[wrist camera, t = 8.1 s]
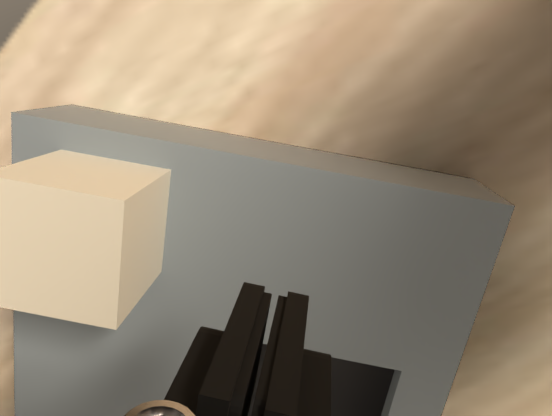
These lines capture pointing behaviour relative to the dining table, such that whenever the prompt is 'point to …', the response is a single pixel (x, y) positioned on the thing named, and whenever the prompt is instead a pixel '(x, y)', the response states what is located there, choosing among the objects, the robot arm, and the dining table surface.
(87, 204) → the block
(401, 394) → the box
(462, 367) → the dining table surface
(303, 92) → the dining table surface
